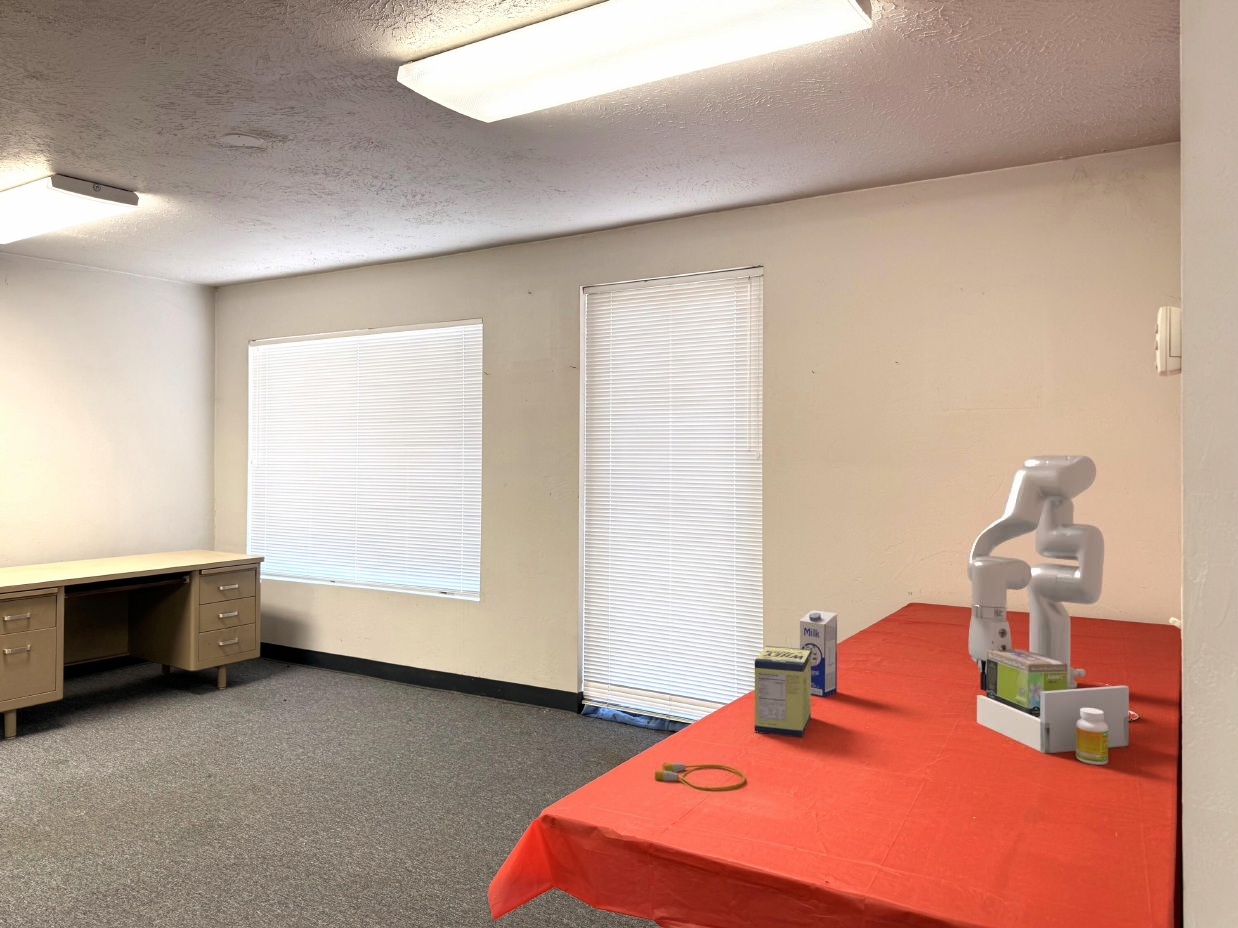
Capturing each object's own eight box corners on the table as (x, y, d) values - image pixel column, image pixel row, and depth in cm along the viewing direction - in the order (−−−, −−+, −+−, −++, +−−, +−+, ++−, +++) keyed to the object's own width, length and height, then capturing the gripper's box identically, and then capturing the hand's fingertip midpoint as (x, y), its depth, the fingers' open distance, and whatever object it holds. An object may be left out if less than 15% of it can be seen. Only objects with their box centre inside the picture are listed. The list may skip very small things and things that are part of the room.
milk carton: (837, 691, 207) (837, 612, 207) (824, 697, 202) (824, 616, 202) (812, 686, 212) (812, 609, 212) (798, 691, 207) (799, 612, 207)
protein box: (811, 717, 186) (811, 648, 186) (803, 738, 172) (803, 664, 172) (765, 712, 190) (765, 644, 190) (753, 732, 175) (753, 659, 175)
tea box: (1069, 730, 178) (1069, 662, 178) (1027, 733, 176) (1028, 664, 176) (1023, 710, 192) (1023, 647, 192) (984, 712, 191) (984, 648, 191)
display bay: (1053, 716, 188) (1054, 663, 188) (1128, 745, 168) (1128, 686, 168) (976, 722, 183) (977, 668, 183) (1044, 753, 163) (1044, 693, 163)
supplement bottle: (1107, 767, 156) (1107, 716, 156) (1075, 761, 159) (1075, 711, 159) (1108, 758, 161) (1108, 709, 161) (1076, 753, 164) (1077, 704, 164)
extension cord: (681, 760, 159) (681, 750, 159) (755, 778, 151) (755, 767, 151) (647, 780, 149) (647, 769, 149) (725, 801, 141) (725, 789, 141)
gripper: (1025, 617, 188) (1024, 698, 188) (981, 606, 202) (981, 681, 202) (996, 618, 186) (996, 699, 186) (955, 607, 201) (954, 682, 201)
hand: (988, 690), depth 194 cm, fingers closed
